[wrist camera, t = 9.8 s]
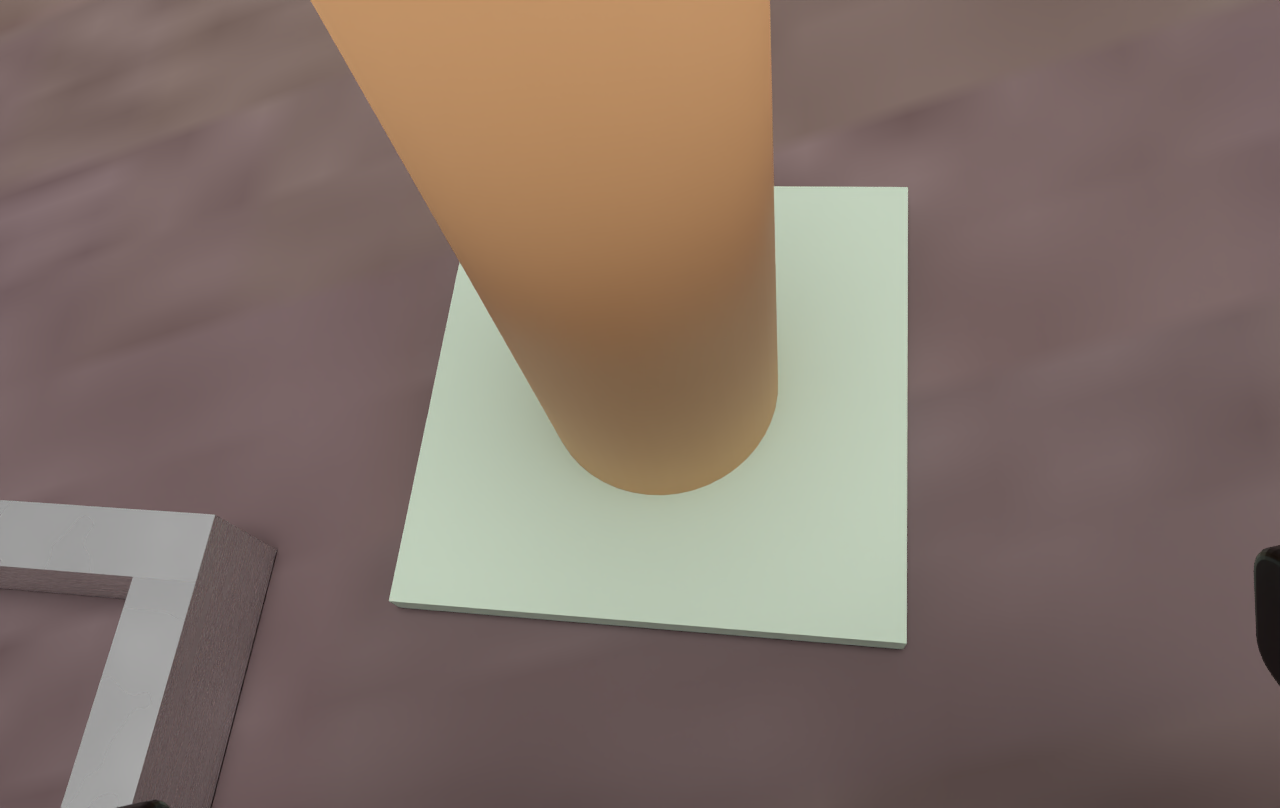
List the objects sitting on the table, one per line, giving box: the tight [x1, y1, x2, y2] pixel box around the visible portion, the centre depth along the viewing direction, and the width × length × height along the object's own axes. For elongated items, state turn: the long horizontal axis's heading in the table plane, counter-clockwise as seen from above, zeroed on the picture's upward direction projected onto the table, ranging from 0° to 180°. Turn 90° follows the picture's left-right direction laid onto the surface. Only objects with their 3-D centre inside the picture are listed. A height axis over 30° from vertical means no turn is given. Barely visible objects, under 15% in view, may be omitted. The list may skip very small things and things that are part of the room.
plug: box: [311, 0, 778, 495], centre depth 14 cm, size 5×5×15 cm
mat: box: [389, 186, 908, 649], centre depth 21 cm, size 10×10×1 cm
